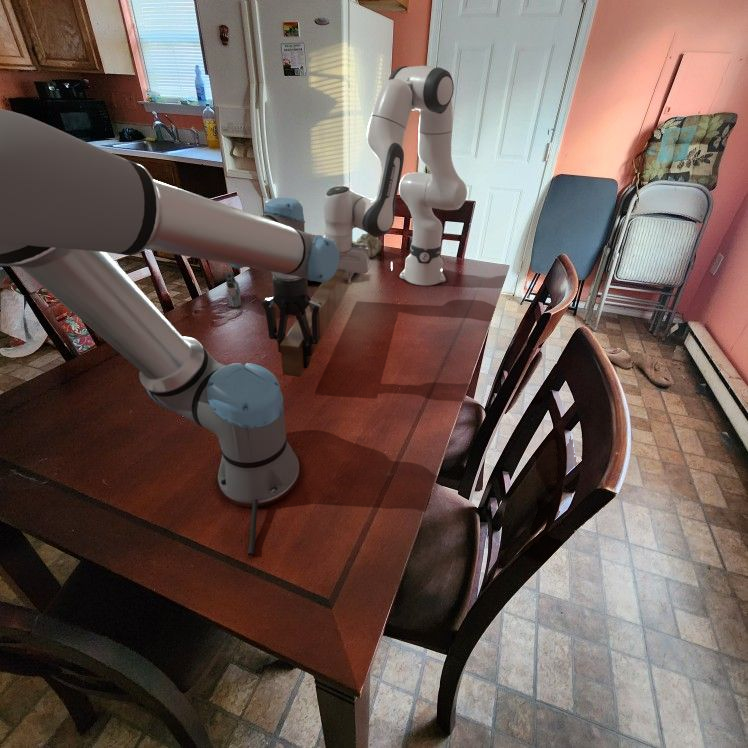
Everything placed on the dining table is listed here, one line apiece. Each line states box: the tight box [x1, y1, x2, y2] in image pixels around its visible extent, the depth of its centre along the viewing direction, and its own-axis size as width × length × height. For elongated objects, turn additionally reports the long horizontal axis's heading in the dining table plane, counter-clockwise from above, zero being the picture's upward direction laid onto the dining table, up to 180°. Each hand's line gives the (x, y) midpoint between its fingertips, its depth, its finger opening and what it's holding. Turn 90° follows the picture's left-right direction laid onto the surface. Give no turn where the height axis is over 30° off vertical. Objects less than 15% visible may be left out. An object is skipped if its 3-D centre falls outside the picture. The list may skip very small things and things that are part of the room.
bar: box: [280, 270, 350, 378], centre depth 120 cm, size 56×4×9 cm, turn 171°
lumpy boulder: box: [355, 232, 382, 258], centre depth 188 cm, size 11×11×15 cm
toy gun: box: [224, 272, 242, 308], centre depth 138 cm, size 4×19×10 cm
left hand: (296, 364), depth 103 cm, fingers closed on bar, 4 cm apart
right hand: (339, 282), depth 140 cm, fingers closed on bar, 4 cm apart
